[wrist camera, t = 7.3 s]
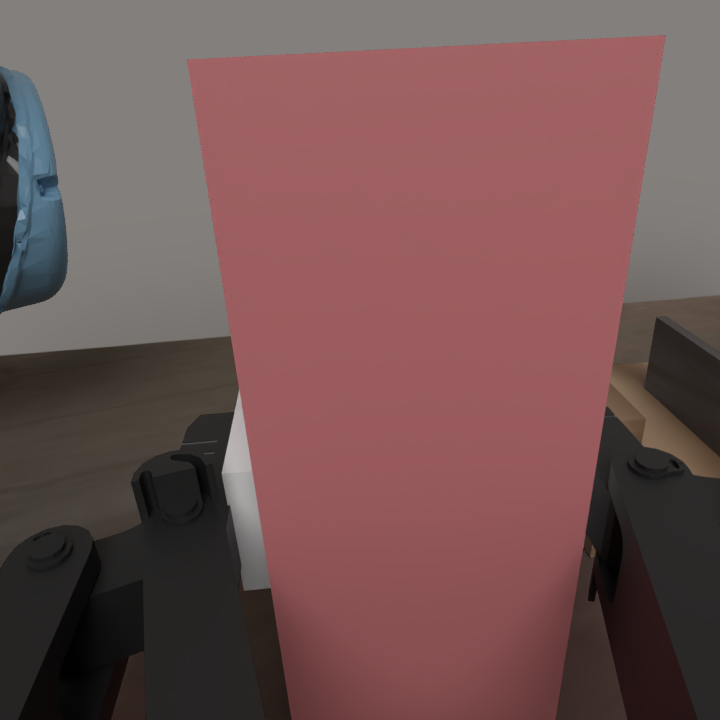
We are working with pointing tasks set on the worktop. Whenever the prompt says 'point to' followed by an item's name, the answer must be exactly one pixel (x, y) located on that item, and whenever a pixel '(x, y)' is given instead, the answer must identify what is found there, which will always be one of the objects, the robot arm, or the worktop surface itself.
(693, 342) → the l-shaped wooden stand
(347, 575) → the tall pink pillar
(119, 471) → the worktop surface
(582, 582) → the worktop surface
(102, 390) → the worktop surface
